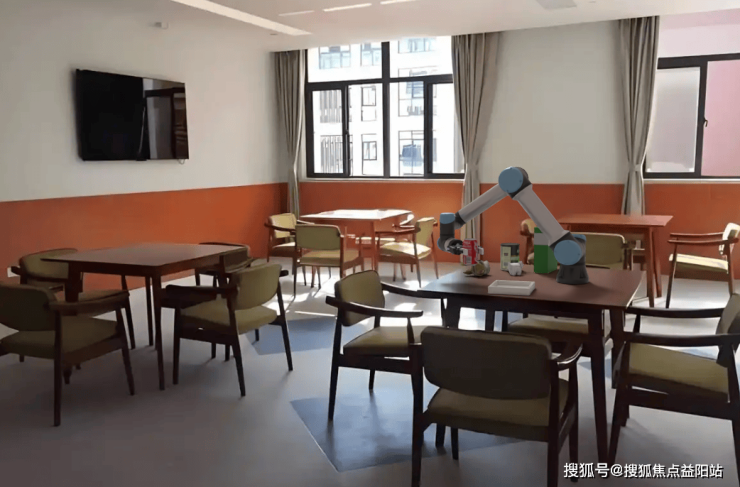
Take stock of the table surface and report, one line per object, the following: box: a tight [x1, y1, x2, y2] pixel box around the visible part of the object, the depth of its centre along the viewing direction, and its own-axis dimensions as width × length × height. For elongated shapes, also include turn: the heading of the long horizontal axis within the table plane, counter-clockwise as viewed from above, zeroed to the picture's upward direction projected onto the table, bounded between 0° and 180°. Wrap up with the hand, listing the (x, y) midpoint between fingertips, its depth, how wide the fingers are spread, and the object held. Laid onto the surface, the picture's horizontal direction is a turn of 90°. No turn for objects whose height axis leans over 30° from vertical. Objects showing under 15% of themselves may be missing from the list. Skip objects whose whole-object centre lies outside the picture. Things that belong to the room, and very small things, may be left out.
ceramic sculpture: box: [462, 259, 491, 277], centre depth 341 cm, size 11×9×15 cm
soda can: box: [462, 237, 479, 267], centre depth 303 cm, size 7×7×12 cm
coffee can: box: [499, 242, 521, 272], centre depth 358 cm, size 10×10×14 cm
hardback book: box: [533, 226, 558, 274], centre depth 351 cm, size 18×7×24 cm, turn 148°
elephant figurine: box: [507, 260, 524, 277], centre depth 342 cm, size 8×10×7 cm
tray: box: [487, 279, 536, 296], centre depth 299 cm, size 18×18×3 cm
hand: (475, 252), depth 298 cm, fingers closed on soda can, 7 cm apart
